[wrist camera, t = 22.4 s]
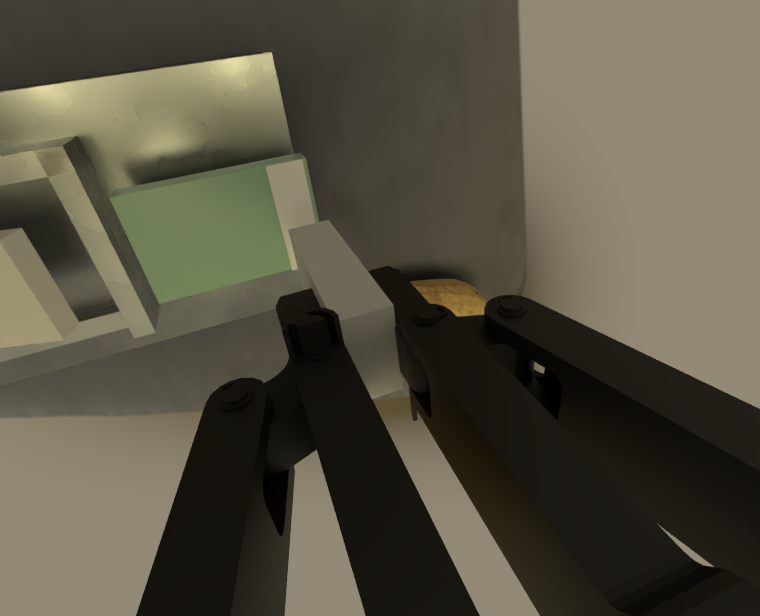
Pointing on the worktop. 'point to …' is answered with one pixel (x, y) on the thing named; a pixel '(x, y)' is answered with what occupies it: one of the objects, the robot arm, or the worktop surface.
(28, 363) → the grey storage bin
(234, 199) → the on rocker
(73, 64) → the worktop surface
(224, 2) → the worktop surface
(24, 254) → the rocker
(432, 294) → the potato
